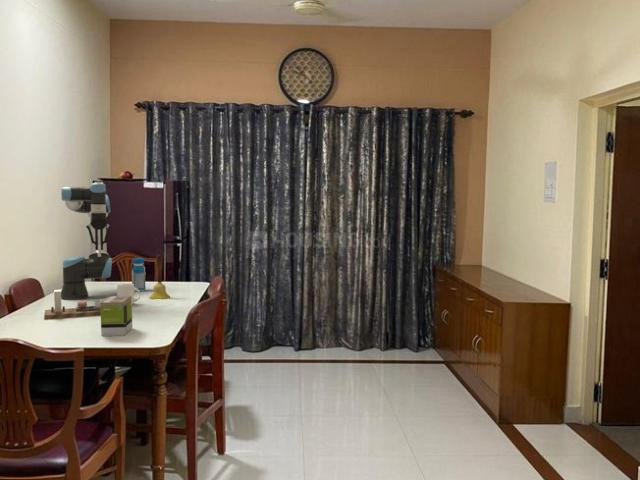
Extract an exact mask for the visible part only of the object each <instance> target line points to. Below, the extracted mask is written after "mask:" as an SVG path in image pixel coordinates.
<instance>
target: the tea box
mask: <svg viewBox="0 0 640 480" xmlns="http://www.w3.org/2000/svg"><path fill="white" fill-rule="evenodd" d="M100 311H101V316H100V333H101V337H123V336H124V337H125V336H126V334H128V332H130V331H131V330H132V329H133V307H132V301H131V296H116V295H115V296H111V295H110V296H108V297H107V298H105V299H104V300H102V301H100Z"/></svg>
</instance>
